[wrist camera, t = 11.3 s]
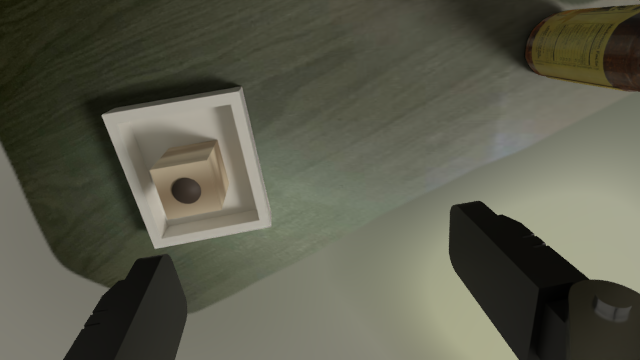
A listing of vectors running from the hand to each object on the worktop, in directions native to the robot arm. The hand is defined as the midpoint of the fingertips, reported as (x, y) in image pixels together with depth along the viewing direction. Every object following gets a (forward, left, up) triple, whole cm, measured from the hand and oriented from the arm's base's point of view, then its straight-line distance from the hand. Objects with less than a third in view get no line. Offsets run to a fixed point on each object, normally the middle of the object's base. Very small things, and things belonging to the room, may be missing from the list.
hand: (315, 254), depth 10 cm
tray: (+6, -10, -27) cm, 30 cm away
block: (+6, -10, -27) cm, 29 cm away
